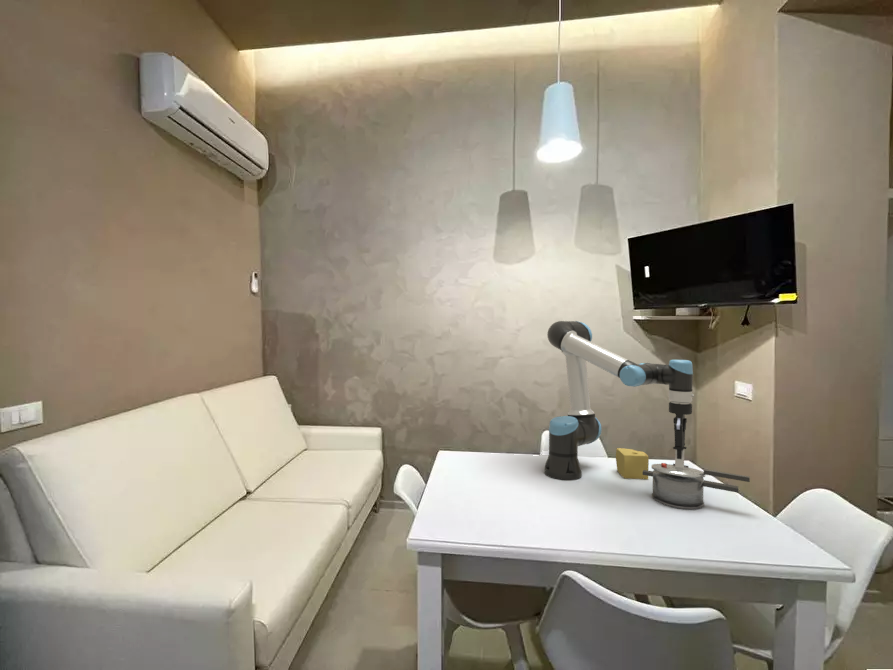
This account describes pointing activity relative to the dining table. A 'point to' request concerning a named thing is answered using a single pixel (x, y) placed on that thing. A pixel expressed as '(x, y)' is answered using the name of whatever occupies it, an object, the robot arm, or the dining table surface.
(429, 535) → the dining table surface
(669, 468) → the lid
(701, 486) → the pot
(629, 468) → the cheese
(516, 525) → the dining table surface
